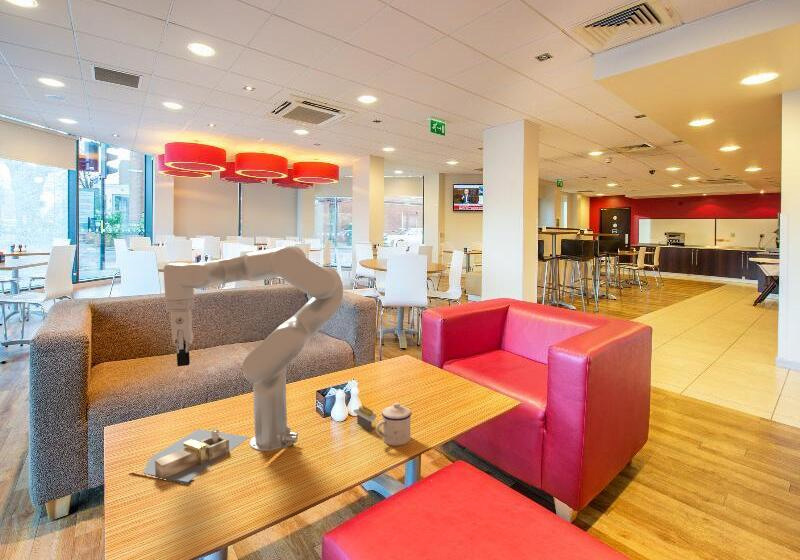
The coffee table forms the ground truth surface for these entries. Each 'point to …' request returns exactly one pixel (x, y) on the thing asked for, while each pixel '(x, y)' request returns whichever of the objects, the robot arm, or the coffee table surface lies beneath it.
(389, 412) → the teacup with lid
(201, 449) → the keeper
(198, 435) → the board
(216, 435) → the pintle
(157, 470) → the link
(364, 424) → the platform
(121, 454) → the coffee table surface
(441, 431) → the coffee table surface
